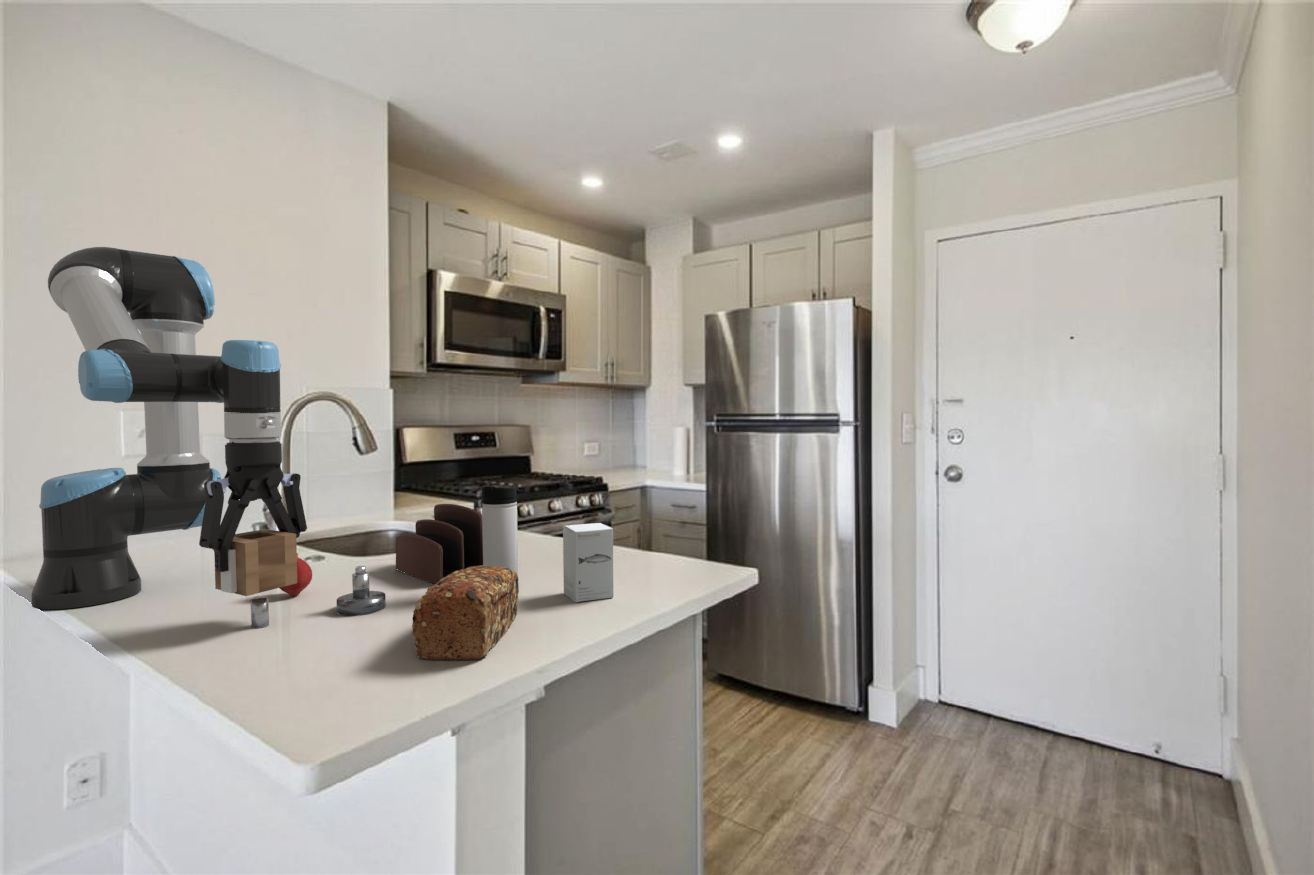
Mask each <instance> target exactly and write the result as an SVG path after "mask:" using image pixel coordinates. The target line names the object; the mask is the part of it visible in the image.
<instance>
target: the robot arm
mask: <svg viewBox="0 0 1314 875" xmlns="http://www.w3.org/2000/svg"><path fill="white" fill-rule="evenodd" d="M213 287H214V286H213V283H212V279H211V277H210V275H209V273H208V272H207V270H206V268H205V267H204V266H203V265H202V264H201V263H199V262H198V261H195V260H191V259H186V258H182V257H178V256H176V255H165V254H158V253H150V252H144V251H136V250H127V249H121V248H116V247H110V246H94V247H88V248H86V247H85V248H82V249H78V250H76V251H73V252H71V253H69V254H67V255H65V256H63V257H62V258H60V259H59V260H58V261H57V262H55V264H54V265H53V267H52V268H51V269H50V271H49V274H48V278H47V289H48V292H49V295H50V296H51V298H52V300H53V302H54V303H55V305H56V306H57V307H58V308H59V309H60V310H62V311H64V312H65V313H67V315H68V317H69V319H70V321H71V323H72V325H73V327H74V329H75V331H76V334H77V336H78V338H79V340H80V342H81V344H82V346H83V348H84V351H82V352H81V354H80V356H79V359H78V364H77V366H78V367H77V374H78V375H77V376H78V384H79V390H80V392H81V395H82V396H83V397H84V398H85V399H87V400H89V401H92V402H111V403H115V404H120V403H121V404H123V403H143V407H144V426H145V427H144V431H145V453H146V454H145V456H144V457H143V458H142V459H141V460H140V461H139V462H137V463H136V471H137V473H135V474H134V473H133V474H127V471H125V469H124V468H122V467H109V468H108V467H107V468H101V469H100V468H99V469H92V470H85V471H80V472H72V473H67V474H62V475H58V476H55V477H51V478H49V479H47V480H46V481H44V482H43V484H42V485H41V487H40V501H39V502H40V504H39V505H38V506H39V509H41V510H40V512H41V514H40V515H41V530H42V531H41V533H42V552H43V553H42V556H43V557H42V558H43V561H42V562H43V563H42V565H41V568H40V570H39V573H38V576H37V578H36V581H35V583H34V586H33V588H32V592H31V607H32V608H34V609H38V610H62V609H63V610H64V609H65V610H66V609H75V608H83V607H89V606H90V607H91V606H96V605H101V604H106V603H107V604H108V603H111V602H115V601H120V600H123V599H126V598H130V597H132V596H135V595H137V594H138V593H140V592H141V591H142V578H141V576H140V573H139V572H138V569H137V567H136V565H135V564H134V562H133V560H132V556H131V555H130V553H129V548H128V547H129V546H128V538H129V537H130V536H137V535H147V534H153V533H160V532H170V531H177V530H178V531H180V530H184V531H186V530H190V529H193V528H199V527H201V530H200V534H199V543H198V545H199V546H200V547H201V548H203V549H210V550H213V553H214V555H213V556H214V570H215V569H216V571H219V572H221V590H220V591H221V592H225V593H228V594H235V592H237V584H236V551H235V549H229V548H230V546H231V543H232V541H233V538H234V536H235V534H237V531H238V527H239V525H240V522H241V520H242V519H243V515H244V512H245V510H246V508H248V507H249V504H250V503H251V502H254V501H257V500H262V502H263V503H264V504H265V505H266V507H267V510H268V512H269V513H270V516H271V517H272V520H273V522H274V524H275V526H276V528H277V531H281V532H288V533H294V534H296V539H298V538H300V535H301V533H304V532H305V533H306V532H307V529H308V525H307V521H306V514H305V511H304V504H303V501H302V500H303V499H302V496H301V489H300V485H301V475H300V474H299V473H295V472H287V473H284V472H283V470H282V468H281V464H282V463H283V451H282V449H283V447H282V443H281V441H278V439H279V438H281V437H282V425H281V423H282V421H281V420H282V418H281V411H282V410H281V374H280V373H281V368H282V364H281V362H280V352H279V348H278V345H276V344H275V343H274V342H270V341H263V340H253V339H251V340H250V339H249V340H248V339H229V340H225V341H224V342H223V343H222V349H221V356H220V355H203V354H201V355H200V354H197V353H196V352H197V348H196V335H197V333H199V332H200V331H201V330H203V328H204V327H205V324H204V321H206V320H210V319H211V318H212V317H213V315H214V312H215V307H214V306H215V305H216V304H215V303H216V302H215V301H216V300H215V291H214V288H213ZM199 403H215V404H223V412H224V413H223V420H224V421H223V422H224V423H223V424H224V426H223V428H224V433H223V434H224V435H223V436H224V438H225V439H226V440H229V441H228V442H226V444H225V445H224V458H225V461H224V462H225V466H226V473H225V475H224V478H222V476H221V473H220V472H219V471H218V470H217V469H215V468H212V467H211V464H210V460H209V459H208V458H207V457H205V455H203V454H202V453H201V445H200V444H201V443H200V421H199V420H200V418H199ZM280 484H281V485H282V488H283V489H282V491H283V495H284V500H285V503H286V504H285V505H286V507H285V505H284V503H283V501H282V499H283V497H282V495H281V493H280V491H279V489H278V487H279V485H280ZM227 488H228V489H229V490H230V491H231V493H230V496H229V498H228V501H227V505H228V506H227V508H226V510H225V513H224V514H223V508H224V502H225V495H224V494H225V493H227ZM222 517H223V518H222Z"/></svg>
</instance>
